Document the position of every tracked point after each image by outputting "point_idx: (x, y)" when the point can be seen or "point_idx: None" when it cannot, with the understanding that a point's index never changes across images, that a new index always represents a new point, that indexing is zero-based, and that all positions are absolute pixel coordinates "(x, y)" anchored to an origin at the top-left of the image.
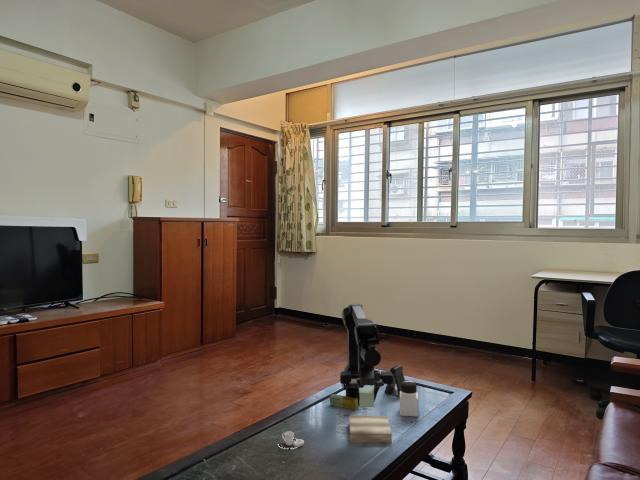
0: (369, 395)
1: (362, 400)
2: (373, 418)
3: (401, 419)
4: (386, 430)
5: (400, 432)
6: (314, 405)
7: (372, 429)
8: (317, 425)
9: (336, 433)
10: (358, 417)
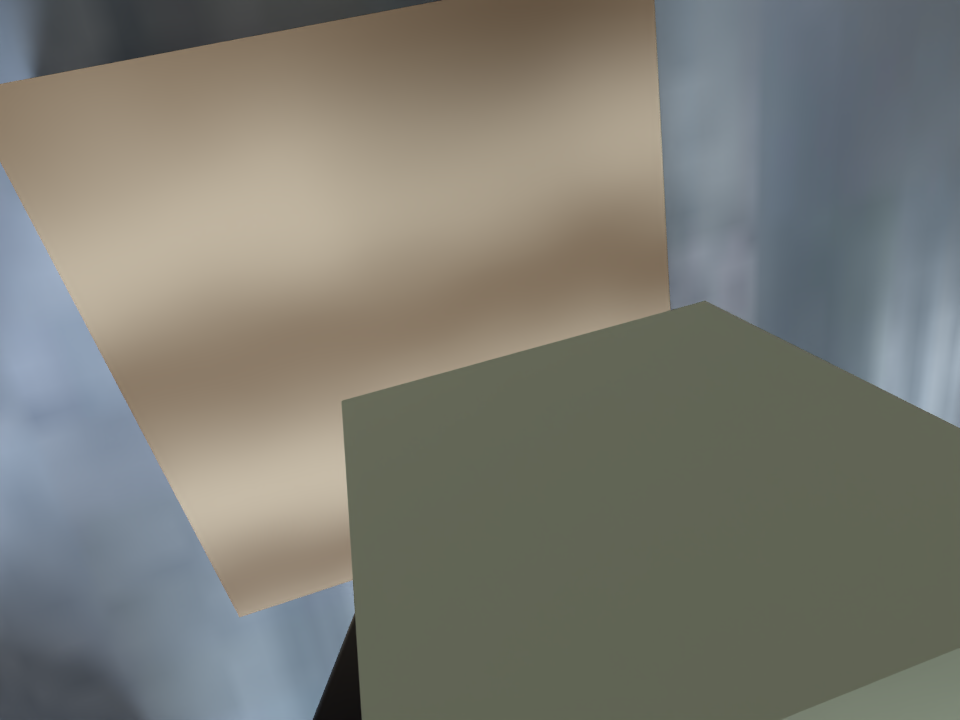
0: (601, 618)
1: (755, 396)
2: None
3: (114, 682)
4: (106, 201)
5: (16, 412)
6: None
7: (343, 179)
8: (912, 304)
9: (752, 185)
10: None
